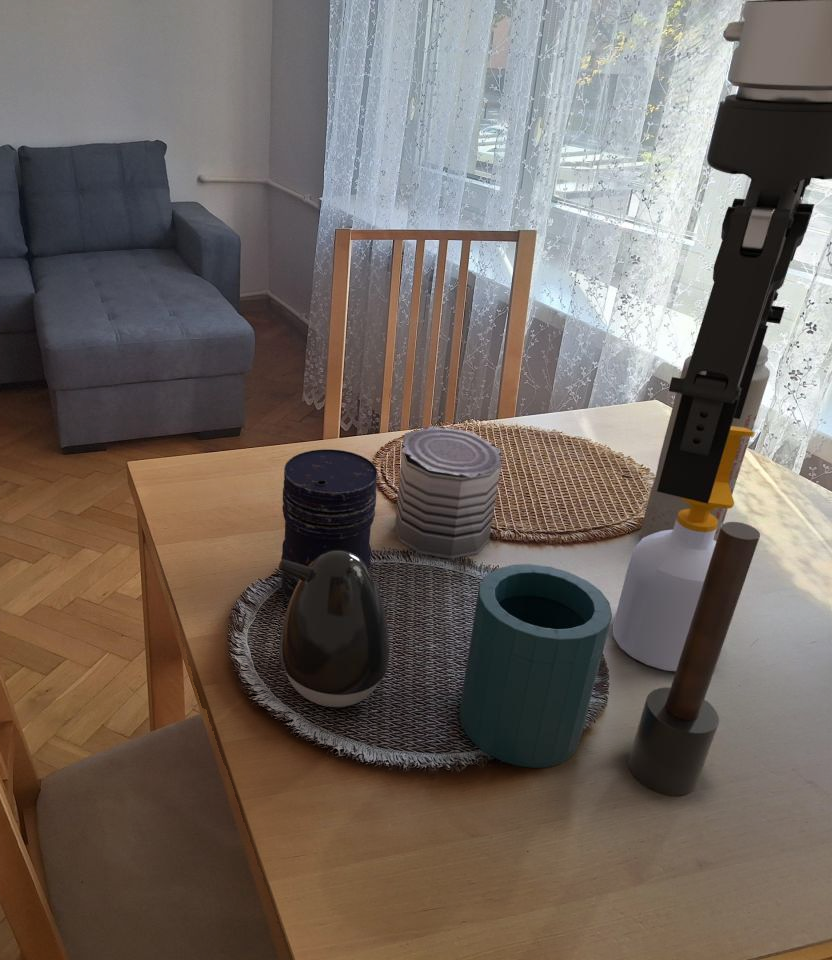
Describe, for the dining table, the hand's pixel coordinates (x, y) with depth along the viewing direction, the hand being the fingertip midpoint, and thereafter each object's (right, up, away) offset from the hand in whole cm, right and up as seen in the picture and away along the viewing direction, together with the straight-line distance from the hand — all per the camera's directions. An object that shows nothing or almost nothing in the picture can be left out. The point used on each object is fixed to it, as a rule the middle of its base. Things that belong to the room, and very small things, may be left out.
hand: (702, 451), depth 55 cm
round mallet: (+7, -26, +17) cm, 32 cm away
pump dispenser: (-20, -22, +27) cm, 40 cm away
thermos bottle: (+25, -9, +47) cm, 54 cm away
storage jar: (-18, -14, +41) cm, 47 cm away
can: (-2, -9, +50) cm, 51 cm away
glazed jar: (-4, -24, +22) cm, 33 cm away
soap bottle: (+14, -19, +31) cm, 39 cm away
